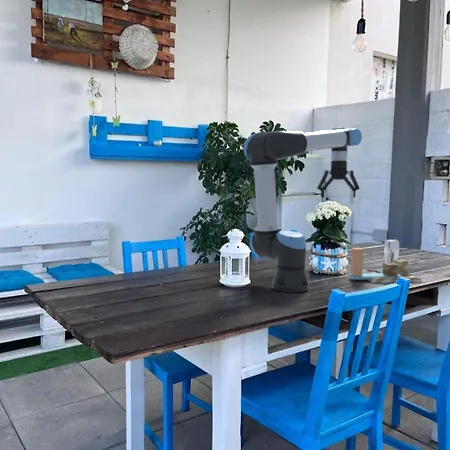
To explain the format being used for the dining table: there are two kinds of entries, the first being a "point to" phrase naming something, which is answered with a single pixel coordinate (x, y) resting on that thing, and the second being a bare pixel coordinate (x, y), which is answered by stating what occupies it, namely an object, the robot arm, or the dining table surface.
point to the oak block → (401, 265)
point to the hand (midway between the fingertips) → (337, 204)
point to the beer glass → (391, 250)
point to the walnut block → (390, 269)
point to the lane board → (390, 280)
